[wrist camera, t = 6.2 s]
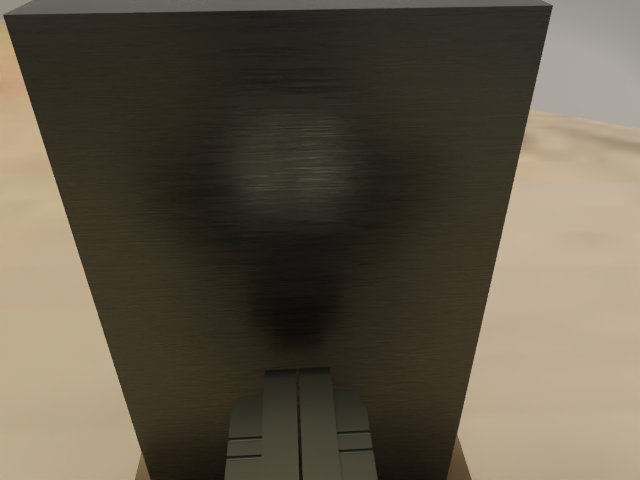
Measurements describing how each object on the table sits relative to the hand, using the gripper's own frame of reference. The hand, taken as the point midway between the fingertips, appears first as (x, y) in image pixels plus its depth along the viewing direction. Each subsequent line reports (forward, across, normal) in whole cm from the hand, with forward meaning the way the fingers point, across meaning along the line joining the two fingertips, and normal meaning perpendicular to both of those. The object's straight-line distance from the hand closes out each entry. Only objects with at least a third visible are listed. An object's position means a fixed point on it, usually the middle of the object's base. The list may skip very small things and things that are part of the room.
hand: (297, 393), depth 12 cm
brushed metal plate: (+5, 0, +6) cm, 8 cm away
